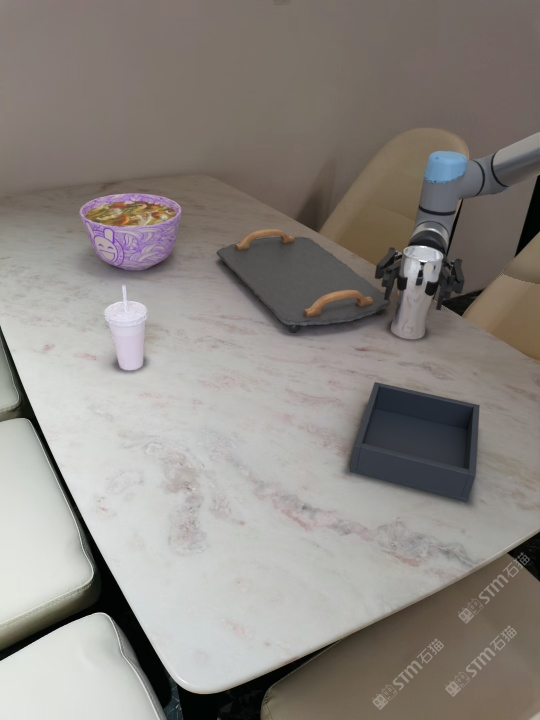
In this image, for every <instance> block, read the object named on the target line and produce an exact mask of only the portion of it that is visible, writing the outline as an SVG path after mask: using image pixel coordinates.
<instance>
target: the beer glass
mask: <svg viewBox="0 0 540 720" xmlns="http://www.w3.org/2000/svg"><path fill="white" fill-rule="evenodd" d="M402 252H403V255H402V259H400V260H401V263H400V266H399V271H398V277H397V279H396V309H395V314H394V317H393V320H392V322H391V325H390V331H391V333H393V334H394V335H395V336H397V337H399V338H403V339H406V340H417V339H421V338H423V337H424V336H425V334H426V320H427V315H428V312H429V309H430V307H431V304H432V302H433V300H434V298H435V295H436V292H437V290H438V287H439V280H440V275H441V268H442V261H443V254H442V253H441V252H440V251H438V250H436V249H434V248H431V247H426V246H409V247H407V246H406V247H405V248H403V250H402Z"/></svg>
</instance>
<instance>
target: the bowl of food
mask: <svg viewBox="0 0 540 720" xmlns="http://www.w3.org/2000/svg"><path fill="white" fill-rule="evenodd" d="M78 213H79V217H80V219H81V221H82V224H83V227H84V229H85V231H86V234H87V237H88V239H89V242H90V244H91V246H92V248H93V250H94V252H95V254H96V255H97V256H98V258H100V259H101V260H102V261H104V263H106V264H109V265H111V266H113V267H117V268H119V269H122V270H125V271H130V272H131V271H143V270H147V269H149V268H152V267H153V266H156V265H157V264H159V263H162V262H163V261H165V260H166V259H167V258H168V257H169V256H170V255H171V253H172V251H173V250H174V248H175V244H176V242H177V241H176V240H177V235H178V231H179V226H180V222H181V215H182V207H181V206H180V205H179V203H177V201H175V200H173V199H170V198H168V197H164V196H160V195H157V194H150V193H149V194H148V193H118V194H117V193H116V194H110V195H105V196H101V197H97V198H95V199H92V200H89V201H87V202H86V203H85V204H83V205H82V206H81V207H80V209H79V212H78Z"/></svg>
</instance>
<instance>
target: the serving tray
mask: <svg viewBox="0 0 540 720" xmlns="http://www.w3.org/2000/svg"><path fill="white" fill-rule="evenodd" d="M272 236H274V237H272ZM216 255H217V256H218V257H219V258H220V259H221V261H222V262H223V264H225V265H227V267H229V269H230V271H232V272H233V273H234V274H235V275H236V276H237V277H238V278H239V280H240V281H242V282H243V283H244V285H245V286H247V287H248V288H249V290H250V291H251V292H252V293H253V294H254V295H255V296H256V297H257V298H258V299H259V300H260V301H261V302H262V303H263V304H264V305H265V306H266V307H267V309H269V310H270V312H272V314H274V315H275V317H276V318H277V319H278V320H279V321H280V322H282V323H283V324H284V325H287V330H288V331H289V333H291V334H296V333H298V332H299V330H300V328H301V326H302V327H307V326H327V325H333V324H341V323H349V322H352V321H356V320H359V319H363V318H365V317H369V316H371V315H376V316H381V315H382V314H384V312H385V309H386V308H388V307H389V306H390V305H391V304H392V300H391V298H389V300H384V296H385V293H383V292H382V291H381V290H380V289H379V288H377V287H376V286H374V285H373V283H371V282H369V281H368V279H366V278H365V277H363V276H361V275H360V274H358V273H356V272H355V271H354V270H353V269H352V268H351V267H350V266H349V265H348V264H346V263H344V262H343V261H342V260H340V259H338V258H337V257H336V256H334V254H333V253H332V252H330V251H328V250H327V249H325V248H324V247H323V246H321V245H320V244H319V243H317V242H316V241H314V240H313V239H312V238H310V237H304V236H293V235H287V234H286V233H285V232H284V231H282V230H281V229H277V228H265V229H259V230H256V231H252V232H250V233H248V234H247V235H246V236H245V237H244V238H243V239H242V240H241V241H238V242H236V243H233V244H229V245H227V246H225V247H221V248H219V249H218V250H217V251H216Z"/></svg>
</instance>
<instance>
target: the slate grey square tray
mask: <svg viewBox="0 0 540 720" xmlns="http://www.w3.org/2000/svg"><path fill="white" fill-rule="evenodd" d="M480 407H481V406H480V404H477V403H473V402H468V401H462V400H458V399H453V398H451V397H445V396H440V395H435V394H431V393H426V392H422V391H418V390H413V389H409V388H405V387H400V386H395V385H391V384H386V383H382V382H378V381H374V383H373V386H372V389H371V393H370V396H369V399H368V401H367V404H366V408H365V412H364V414H363V416H362V417H363V418H362V420H361V423H360V427H359V430H358V433H357V436H356V439H355V442H354V446H353V451H352V457H351V464H350V469H349V472H350V473H352V474H356V475H360V476H365V477H368V478H372V479H376V480H379V481H384V482H386V483H387V482H388V483H391V484H395V485H399V486H402V487H407V488H410V489H414V490H417V491H420V492H421V491H422V492H426V493H429V494H433V495H438V496H441V497H444V498H448V499H452V500H456V501H460V502H464V503H468V501H469V497H470V494H471V492H472V488H473V485H474V482H475V480H476V476H477V459H478V444H479V443H478V442H479V441H478V440H479V422H480Z"/></svg>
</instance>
